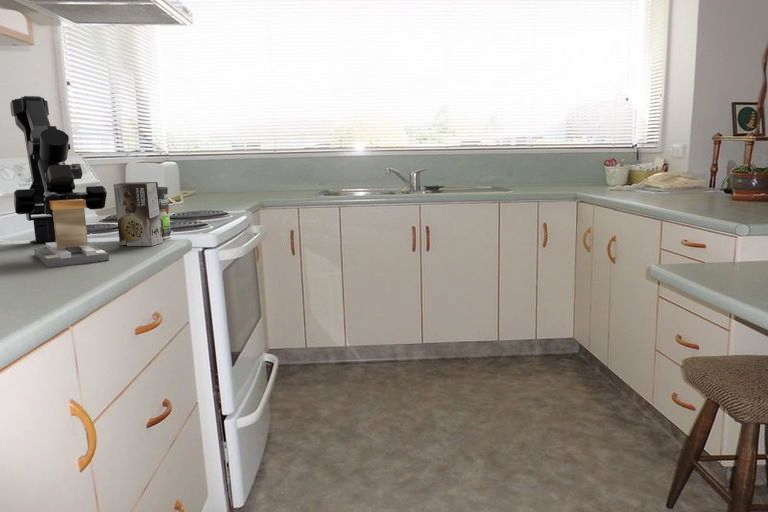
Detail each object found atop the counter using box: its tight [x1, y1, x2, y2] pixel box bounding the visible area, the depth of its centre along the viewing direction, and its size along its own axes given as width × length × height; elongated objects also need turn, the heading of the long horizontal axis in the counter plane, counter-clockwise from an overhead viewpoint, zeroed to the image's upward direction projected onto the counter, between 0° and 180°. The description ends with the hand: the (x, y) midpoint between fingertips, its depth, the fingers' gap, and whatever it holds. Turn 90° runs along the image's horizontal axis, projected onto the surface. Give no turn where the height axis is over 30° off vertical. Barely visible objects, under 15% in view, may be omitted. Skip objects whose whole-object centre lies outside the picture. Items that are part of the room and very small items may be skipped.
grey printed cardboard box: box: [112, 181, 164, 247], centre depth 155 cm, size 9×6×16 cm
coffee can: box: [158, 186, 172, 240], centre depth 166 cm, size 10×10×14 cm
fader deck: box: [33, 242, 110, 268], centre depth 138 cm, size 20×12×3 cm, turn 37°
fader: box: [50, 199, 89, 253], centre depth 134 cm, size 4×7×12 cm, turn 127°
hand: (69, 227), depth 135 cm, fingers closed, pressing on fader
